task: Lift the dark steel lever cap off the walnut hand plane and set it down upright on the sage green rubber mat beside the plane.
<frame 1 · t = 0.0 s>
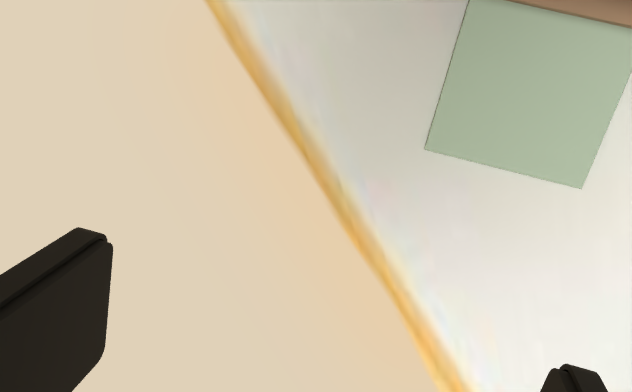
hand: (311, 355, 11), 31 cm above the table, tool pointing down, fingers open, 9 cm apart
mat: (528, 90, 38), on the table
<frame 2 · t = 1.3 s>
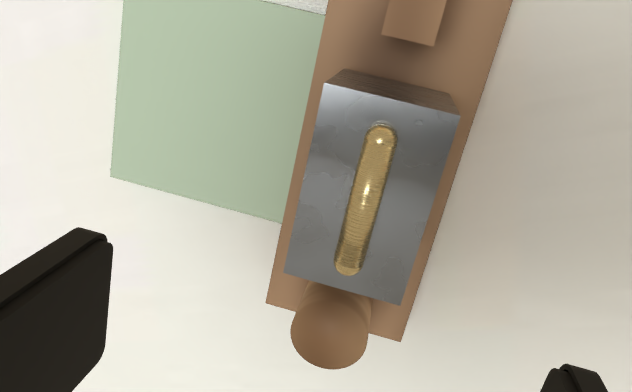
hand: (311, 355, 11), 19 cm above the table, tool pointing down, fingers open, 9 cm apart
lever cap: (375, 161, 25), point 4 cm above the table, touching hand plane
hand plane: (379, 144, 29), on the table
mat: (218, 104, 30), on the table
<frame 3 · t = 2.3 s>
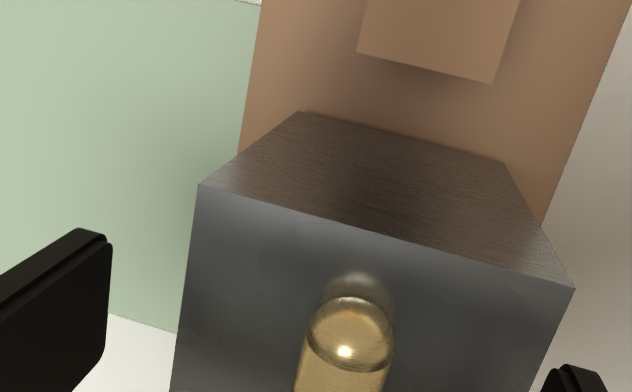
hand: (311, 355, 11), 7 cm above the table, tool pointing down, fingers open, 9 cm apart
lever cap: (358, 280, 14), point 4 cm above the table, touching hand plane
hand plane: (370, 228, 17), on the table
mat: (106, 155, 18), on the table
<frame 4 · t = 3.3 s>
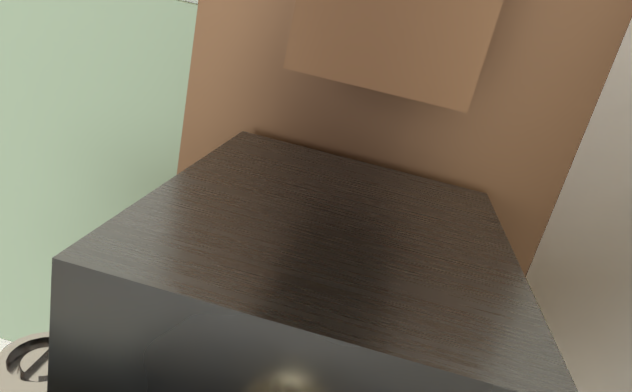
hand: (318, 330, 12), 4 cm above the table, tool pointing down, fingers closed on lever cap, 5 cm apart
lever cap: (319, 327, 12), point 4 cm above the table, touching gripper, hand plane
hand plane: (339, 258, 15), on the table
mat: (39, 177, 16), on the table
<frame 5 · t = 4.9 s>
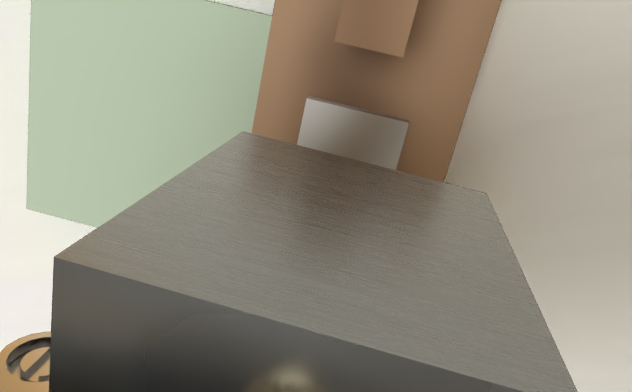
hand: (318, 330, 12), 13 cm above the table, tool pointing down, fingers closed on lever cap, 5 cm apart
lever cap: (319, 327, 12), point 13 cm above the table, touching gripper
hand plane: (344, 170, 24), on the table
mat: (152, 122, 25), on the table
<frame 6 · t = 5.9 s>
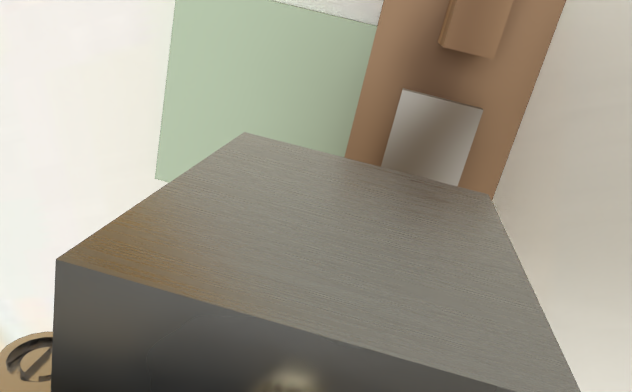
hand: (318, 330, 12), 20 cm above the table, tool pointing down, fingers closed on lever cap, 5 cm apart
lever cap: (320, 328, 12), point 20 cm above the table, touching gripper
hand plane: (421, 150, 30), on the table
mat: (264, 109, 31), on the table
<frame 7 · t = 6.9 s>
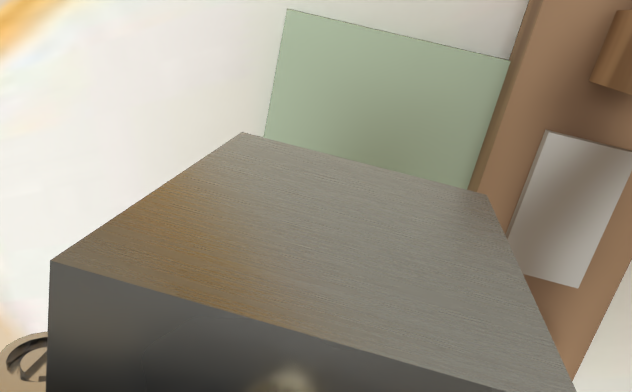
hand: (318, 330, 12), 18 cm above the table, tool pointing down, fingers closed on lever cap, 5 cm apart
lever cap: (319, 328, 12), point 18 cm above the table, touching gripper
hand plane: (545, 190, 28), on the table
mat: (372, 146, 28), on the table
when the fingers open (2 cm above the table, at t = 10.1 s): lever cap drops 1 cm, resting on mat.
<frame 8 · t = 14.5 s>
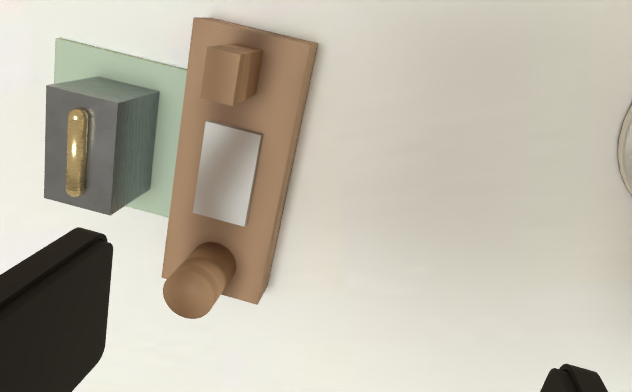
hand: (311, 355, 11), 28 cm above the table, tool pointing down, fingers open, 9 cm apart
lever cap: (124, 134, 40), resting on mat
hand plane: (240, 162, 40), on the table
mat: (126, 132, 41), on the table
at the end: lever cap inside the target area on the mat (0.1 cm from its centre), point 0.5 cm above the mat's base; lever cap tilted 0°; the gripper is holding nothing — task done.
